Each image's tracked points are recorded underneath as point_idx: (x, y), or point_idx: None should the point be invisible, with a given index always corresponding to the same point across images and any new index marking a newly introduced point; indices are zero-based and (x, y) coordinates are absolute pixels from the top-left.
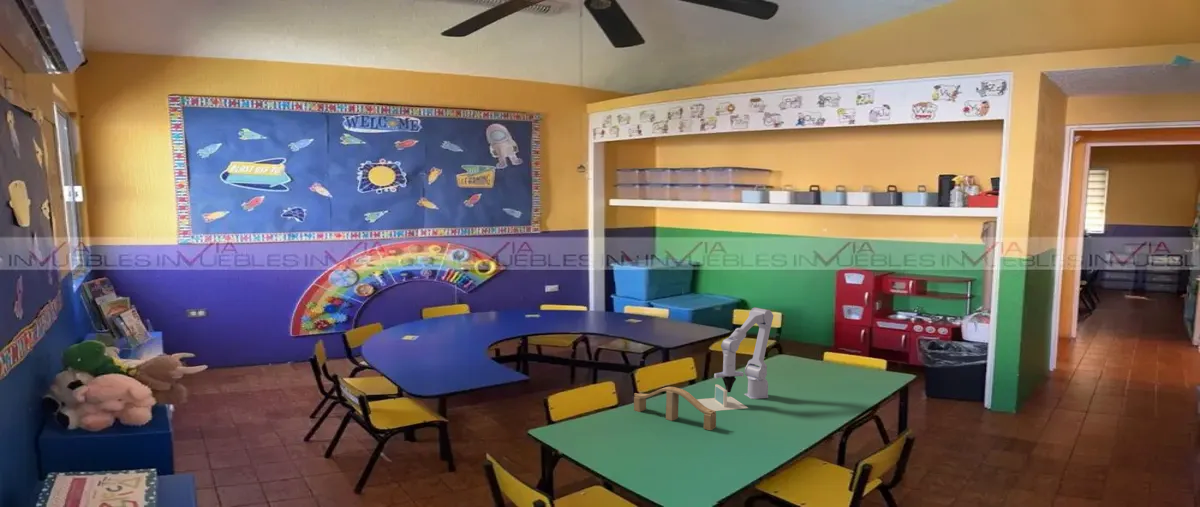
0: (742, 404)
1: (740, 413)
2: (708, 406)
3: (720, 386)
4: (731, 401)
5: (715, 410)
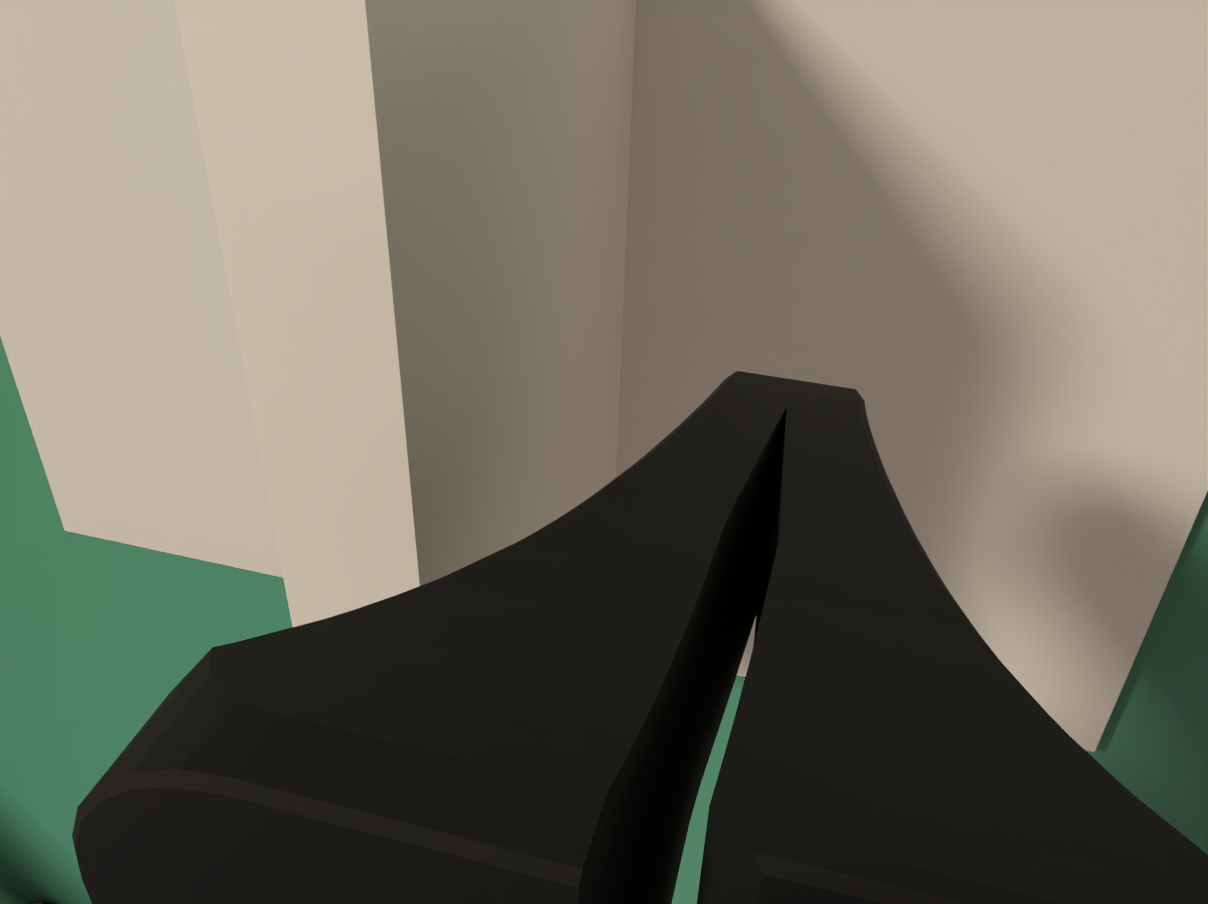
0: (1170, 520)
1: (706, 828)
2: (186, 292)
3: (363, 398)
4: (1060, 152)
5: (272, 560)
